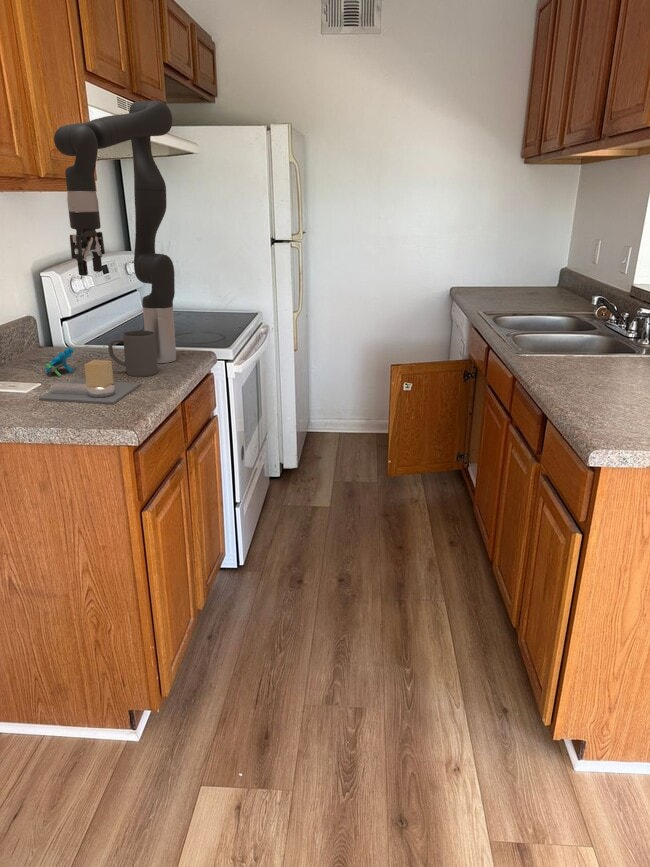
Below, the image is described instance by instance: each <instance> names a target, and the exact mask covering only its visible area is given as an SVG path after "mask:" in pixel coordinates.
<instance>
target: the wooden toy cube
mask: <svg viewBox="0 0 650 867" xmlns="http://www.w3.org/2000/svg"><path fill="white" fill-rule="evenodd" d="M84 375H85V380H86V384H87V387H94V388H106V387H108V386H109V385H111V384H113V383H114V382H115V381H114V372H113V362H112V360H104V359H102V360H101V359H92V360H91V361H88V362H86V363H85V364H84Z"/></svg>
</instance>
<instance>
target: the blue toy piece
mask: <svg viewBox="0 0 650 867" xmlns="http://www.w3.org/2000/svg"><path fill="white" fill-rule="evenodd" d="M74 352H75V351H74V349H73V347H72V346H70V347H69V348H67V347H66V348H65V349H64V350H63V352H62V351H61V352H59V353H58V354H57V356H55V357H53V358H52V360H51V361H50V362H49V363H46V365H45V370H46V372H47V373H51V372H52V373H53V372H54V373H55V374H56V375H57V376H58V378H59V377H61V376H62V374H61V373H60V372H59V371H58V369H60V368H62V367H64V368H65V369H66V370H67V371H68V372H69V374H71V373H73V372H74V370H73V369H72V368H71V367H70V366H69V365H68V363H67V361H68V358H70V357H71V356H72V353H74Z"/></svg>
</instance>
